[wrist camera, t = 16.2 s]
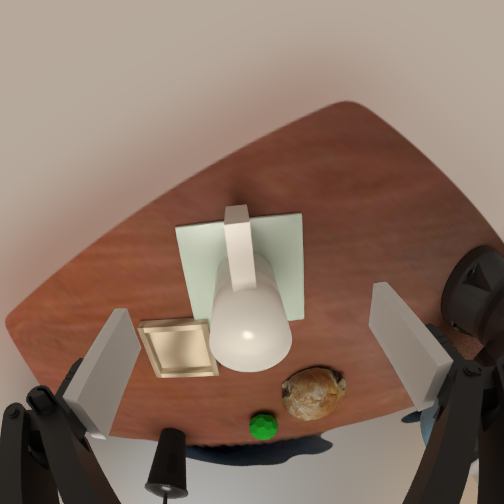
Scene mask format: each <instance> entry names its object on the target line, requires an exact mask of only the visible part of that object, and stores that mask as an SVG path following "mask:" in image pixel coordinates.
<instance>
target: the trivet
mask: <svg viewBox="0 0 504 504" xmlns="http://www.w3.org/2000/svg"><path fill="white" fill-rule="evenodd" d="M249 220H250V228H251V238H252V248H253V251H254V252H257V253H259V254H261V255H263V256H264V257H265V258H266V259H267V260H268V261H269V262H270V264H271V265H272V268H273V271H274V274H275V278H276V281H277V285H278V288H279V292H280V295H281V299H282V303H283V306H284V310H285V313H286V317H287V320H288V321H291V320H298V319H304V265H303V232H302V214H301V213H290V214H280V215H270V216H260V217H251V218H249ZM175 230H176V235H177V240H178V245H179V251H180V256H181V261H182V265H183V270H184V275H185V280H186V284H187V289H188V293H189V298H190V302H191V306H192V311H193V315H194V319H195V320H201V319H208V322H209V327H211V317H212V307H213V298H214V288H215V280H216V272H217V269H218V266H219V264H220V263H221V261H222V260H223V259H224V258H225V257H227V256H228V252H227V245H226V238H225V230H224V221H215V222H207V223H199V224H191V225H183V226H176V228H175Z"/></svg>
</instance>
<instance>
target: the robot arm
mask: <svg viewBox="0 0 504 504" xmlns="http://www.w3.org/2000/svg"><path fill="white" fill-rule="evenodd" d="M441 310H442V315H443V318H444V319H445V321H446V322H447V323H448V324H449V325H450V326H451V327H452V328H454V329H455V330H457V331H460V332H462V333H464V334H466V335H469V336H471V337H473V338H476V339H477V340H479V341H480V343H481V344H482V345H483V346H484V347H483V348H482V350H481V351H480V352H479V353H478V354H477V355H476V356H475V358H474V359H473V360H465V359H464V358H463V356H462V355H461V354H460V353H459V352H458V350H457V349H456V348H455V347H454V346H453V344H452V343H451V342H449V340H448V338H447V337H445V335H444V334H443V333H442V332H441V330H440V329H439V328H437V327H435V326H434V325H432V324H427V325H424V324H423V323H422V322H421V321H420V319H419V318H418V317H417V316H416V315H415V314H414V312H413V311H412V310H411V309H410V308H409V307H408V306H407V304H406V303H405V302H404V301H403V300H402V299H401V298H400V296H399V295H398V294H397V293H396V292H395V291H394V290H393V289H392V288H391V287H390V285H389V284H388V283H387V282H381V283H374V285H373V294H372V302H371V310H370V318H369V325H368V326H369V328H370V329H371V331H372V332H373V334H374V336H375V337H376V339H377V341H378V342H379V344H380V346H381V347H382V349H383V351H384V352H385V354H386V356H387V357H388V359H389V361H390V362H391V364H392V366H393V368H394V369H395V371H396V373H397V375H398V376H399V378H400V380H401V382H402V383H403V385H404V387H405V389H406V390H407V392H408V394H409V396H410V398H411V399H412V401H413V403H414V405H415V407H416V409H417V410H418V411H421V410H423V411H422V414H421V419H420V423H421V425H420V427H421V433H422V436H423V440H424V443H425V445H426V449H425V452H424V454H423V457H422V460H421V462H420V465H419V468H418V470H417V473H416V475H415V477H414V480H413V482H412V484H411V487H410V489H409V491H408V493H407V495H406V497H405V499H404V501H403V503H402V504H459V503H460V500H461V497H462V494H463V491H464V488H465V485H466V481H467V478H468V474H470V475H472V476H473V477H474V479H475V480H476V482H477V484H478V501H477V504H504V258H503V257H502V256H501V254H499V253H498V252H497V251H495V250H493V249H492V248H490V247H487V246H482V247H478V248H476V249H474V250H472V251H471V252H470V253H468V254H467V255H466V256H465V257H464V258H463V259H462V260H461V261H460V262H459V264H458V265H457V266H456V268H455V269H454V271H453V272H452V274H451V276H450V278H449V280H448V282H447V284H446V287H445V290H444V293H443V297H442V303H441ZM140 350H141V346H140V343H139V341H138V338H137V335H136V333H135V330H134V327H133V324H132V322H131V319H130V316H129V313H128V310H127V308H121V309H114V311H113V312H112V314H111V316H110V317H109V319H108V320H107V322H106V323H105V325H104V327H103V328H102V330H101V331H100V333H99V335H98V336H97V338H96V339H95V341H94V343H93V344H92V346H91V348H90V349H89V351H88V353H87V354H86V356H85V358H80V359H78V360H77V361H76V362H75V363H74V364H73V365H72V367H71V368H70V370H69V373H67V375H66V377H65V379H64V380H63V382H62V384H61V386H60V387H59V389H58V391H57V393H56V394H55V396H54V395H53V393H52V392H51V390H50V389H49V387H47V386H43V385H40V386H37V387H35V388H33V389H32V390H31V391H30V392H29V393H28V395H27V397H26V402H27V403H28V404H29V406H30V407H31V408H32V410H26V409H25V408H24V407H23V406H22V404H20V403H13V404H11V405H9V406H8V407H7V408H6V409H5V411H4V414H3V421H2V428H1V436H0V504H60V503H59V497H58V491H59V493H60V496H61V498H62V501H63V503H64V504H121V503H120V501H119V499H118V498H117V496H116V494H115V493H114V491H113V489H112V487H111V486H110V484H109V482H108V480H107V478H106V477H105V475H104V473H103V471H102V469H101V467H100V465H99V463H98V461H97V459H96V457H95V455H94V453H93V451H92V449H91V446H90V444H89V442H88V440H87V438H86V437H85V436H84V435H85V432H86V430H87V431H88V432H89V433H90V434H91V436H92V437H95V438H100V439H106V440H107V438H108V435H109V432H110V429H111V426H112V423H113V421H114V418H115V415H116V412H117V409H118V407H119V404H120V401H121V398H122V396H123V393H124V390H125V388H126V385H127V383H128V380H129V377H130V375H131V372H132V370H133V367H134V365H135V362H136V360H137V357H138V355H139V352H140ZM57 488H58V490H57Z"/></svg>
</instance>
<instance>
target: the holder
mask: <svg viewBox="0 0 504 504" xmlns="http://www.w3.org/2000/svg"><path fill="white" fill-rule="evenodd" d="M138 331H139V333H140V336H141V339H142V341H143V344H144V347H145V349H146V352H147V354H148V357H149V359H150V362H151V364H152V366H153V369H154V371H155V373H156V376H157V378H165V377H198V376H215V375H219V369H220V367H219V363H218V361H217V360H216V359H215V357H214V356H213V354H212V352H211V350H210V346H209V337H210V327H209V322H208V319H201V320H195V319H194V317H193V318H180V319H165V320H148V321H141V322H140V324H139V326H138Z"/></svg>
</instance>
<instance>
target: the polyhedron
mask: <svg viewBox="0 0 504 504" xmlns="http://www.w3.org/2000/svg"><path fill="white" fill-rule="evenodd" d="M249 429H250V433H251V435H252V436H254V437H255V438H256V439H261V440H267V439H269V438H271V437H272V436H274V435H275V434H276V432H277V430H278V424H277V421H276V420H275V419H274V418H273V417H272V416H271V415H263V414H259V415H257V416H256V417H254V418H253V419H251V422H250V424H249Z"/></svg>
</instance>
